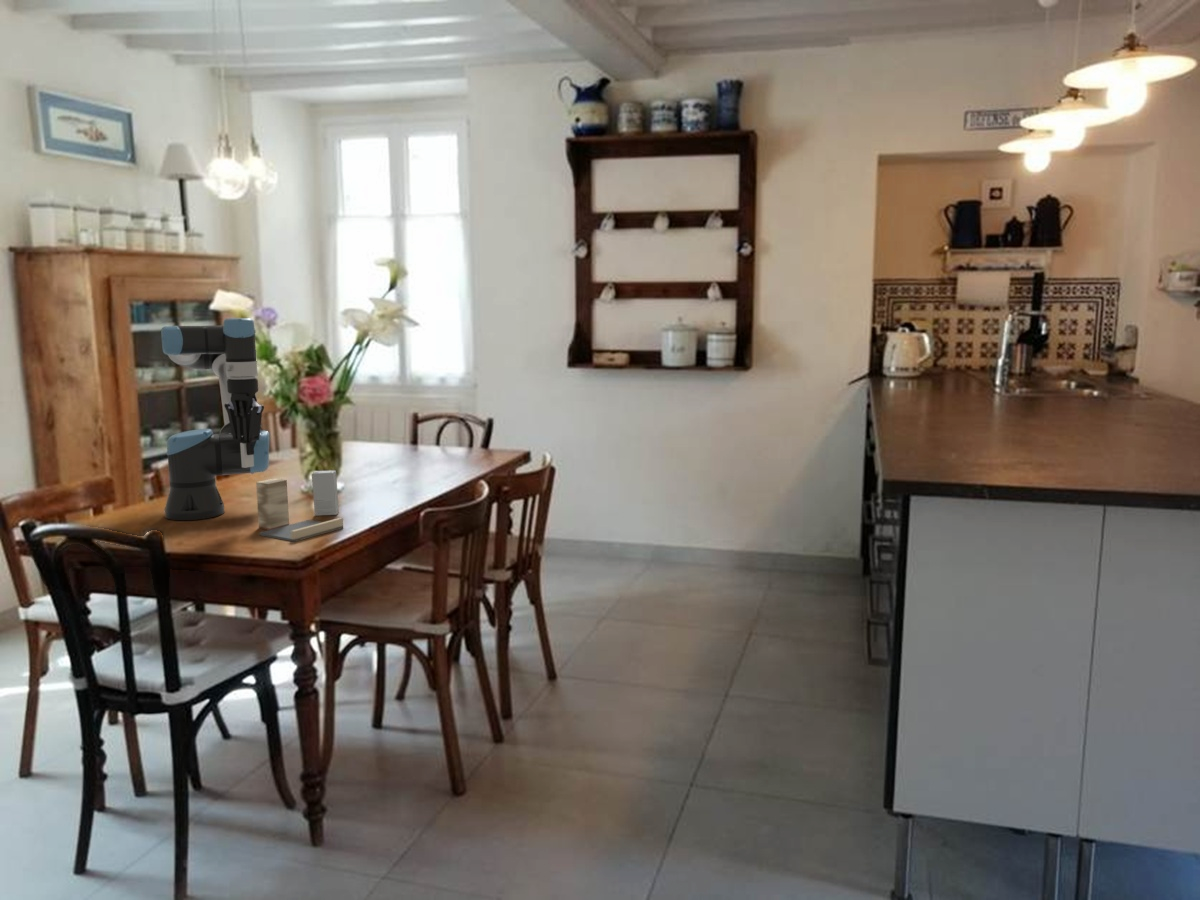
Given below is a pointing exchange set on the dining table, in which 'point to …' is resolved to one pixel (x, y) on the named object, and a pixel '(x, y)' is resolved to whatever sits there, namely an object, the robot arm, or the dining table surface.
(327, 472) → the skincare box
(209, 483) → the robot arm
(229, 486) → the dining table surface
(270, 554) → the dining table surface
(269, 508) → the beech block
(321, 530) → the slate mat
